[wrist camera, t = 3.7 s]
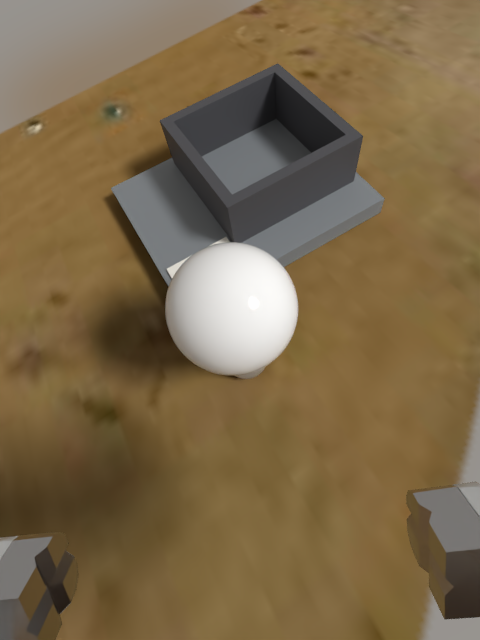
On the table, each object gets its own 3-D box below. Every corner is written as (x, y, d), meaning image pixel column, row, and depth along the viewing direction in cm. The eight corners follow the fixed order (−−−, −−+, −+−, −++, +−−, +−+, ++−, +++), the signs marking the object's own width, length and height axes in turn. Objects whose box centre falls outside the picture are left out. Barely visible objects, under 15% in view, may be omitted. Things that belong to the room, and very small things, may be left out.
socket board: (188, 321, 27) (166, 280, 22) (118, 200, 33) (88, 148, 28) (380, 212, 29) (398, 154, 24) (281, 118, 35) (280, 55, 30)
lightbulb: (187, 342, 26) (128, 248, 17) (269, 306, 27) (258, 193, 17) (222, 427, 24) (175, 373, 14) (313, 384, 24) (329, 303, 14)
